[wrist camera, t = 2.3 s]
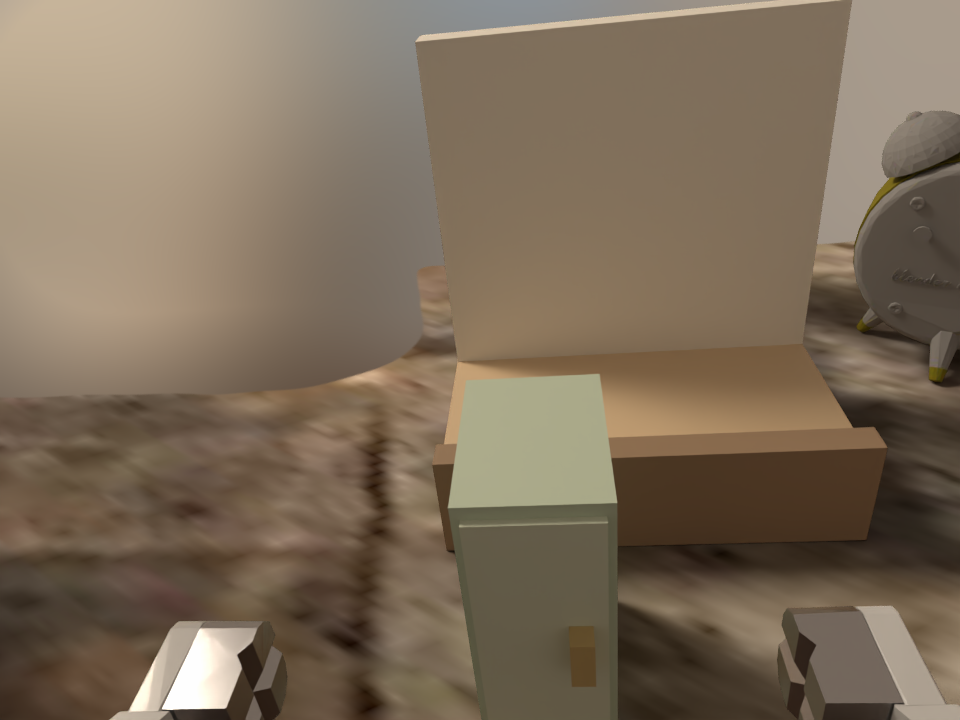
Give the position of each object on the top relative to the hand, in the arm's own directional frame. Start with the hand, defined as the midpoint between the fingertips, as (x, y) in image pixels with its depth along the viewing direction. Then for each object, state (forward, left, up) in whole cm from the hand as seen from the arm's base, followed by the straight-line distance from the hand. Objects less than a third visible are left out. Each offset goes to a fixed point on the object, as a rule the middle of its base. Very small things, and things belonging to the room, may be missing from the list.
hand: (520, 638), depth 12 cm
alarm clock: (+25, +34, -17) cm, 46 cm away
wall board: (+5, +25, -17) cm, 31 cm away
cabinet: (0, +12, -17) cm, 21 cm away
